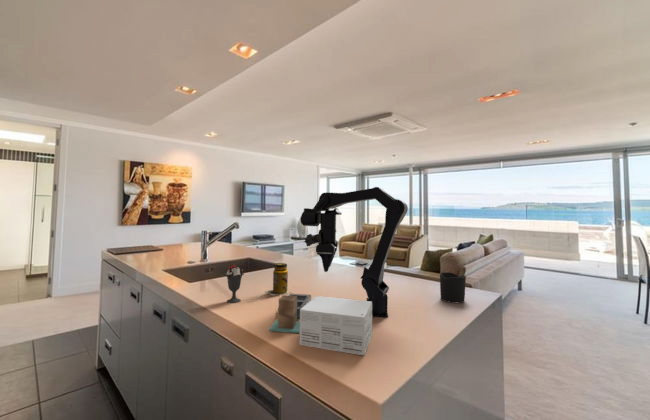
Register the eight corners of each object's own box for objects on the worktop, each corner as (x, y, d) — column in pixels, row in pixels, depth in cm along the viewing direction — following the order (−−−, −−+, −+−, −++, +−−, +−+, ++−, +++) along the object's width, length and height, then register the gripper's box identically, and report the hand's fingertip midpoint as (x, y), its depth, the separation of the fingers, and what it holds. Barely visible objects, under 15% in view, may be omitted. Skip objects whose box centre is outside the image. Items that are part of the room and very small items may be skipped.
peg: (296, 322, 83) (297, 296, 83) (293, 328, 78) (293, 300, 78) (282, 321, 83) (283, 295, 83) (278, 327, 79) (278, 299, 79)
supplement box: (372, 334, 77) (373, 300, 77) (364, 357, 65) (365, 317, 65) (315, 325, 82) (316, 294, 83) (298, 345, 70) (299, 308, 70)
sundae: (220, 302, 102) (221, 261, 102) (232, 297, 108) (233, 259, 108) (234, 304, 99) (235, 263, 99) (246, 299, 105) (247, 260, 106)
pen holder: (461, 297, 114) (461, 273, 114) (468, 304, 105) (469, 278, 105) (437, 295, 116) (437, 271, 116) (442, 302, 107) (443, 276, 107)
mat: (305, 323, 84) (305, 321, 84) (300, 333, 77) (300, 331, 77) (276, 321, 85) (276, 319, 85) (268, 330, 78) (269, 329, 78)
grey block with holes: (311, 302, 103) (311, 294, 103) (302, 318, 87) (302, 309, 87) (290, 301, 104) (290, 293, 104) (278, 317, 88) (278, 307, 88)
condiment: (291, 293, 115) (291, 264, 115) (272, 296, 111) (272, 266, 111) (283, 289, 121) (284, 261, 121) (265, 291, 117) (265, 263, 117)
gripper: (310, 225, 112) (310, 263, 112) (301, 227, 93) (300, 273, 93) (338, 226, 111) (337, 265, 110) (334, 228, 92) (333, 275, 92)
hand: (327, 269), depth 102 cm, fingers open, 9 cm apart
